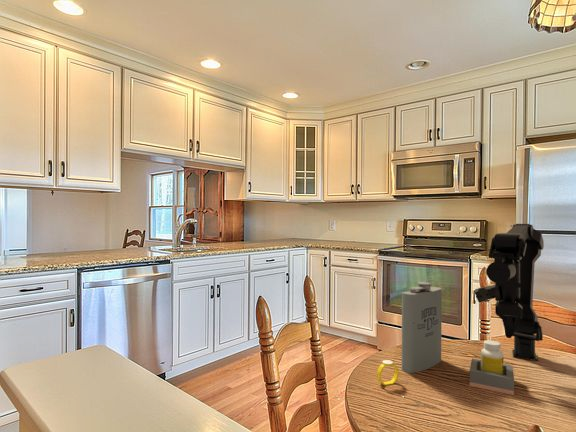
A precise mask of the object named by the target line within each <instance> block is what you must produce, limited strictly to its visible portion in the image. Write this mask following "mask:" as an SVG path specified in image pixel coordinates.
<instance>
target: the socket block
mask: <svg viewBox="0 0 576 432" xmlns="http://www.w3.org/2000/svg"><path fill="white" fill-rule="evenodd" d="M480 369H481V359H477V358H473V357H472V358H471V362H470V366H469V387H474V388H477V389H478V388H479V389H484V390H489V391H493V392H498V393H502V394H507V395H512V396H514V395H515V374H514V366H513V364H506V363H503V375H501V374H496V373H491V372H485V371H480Z"/></svg>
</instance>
